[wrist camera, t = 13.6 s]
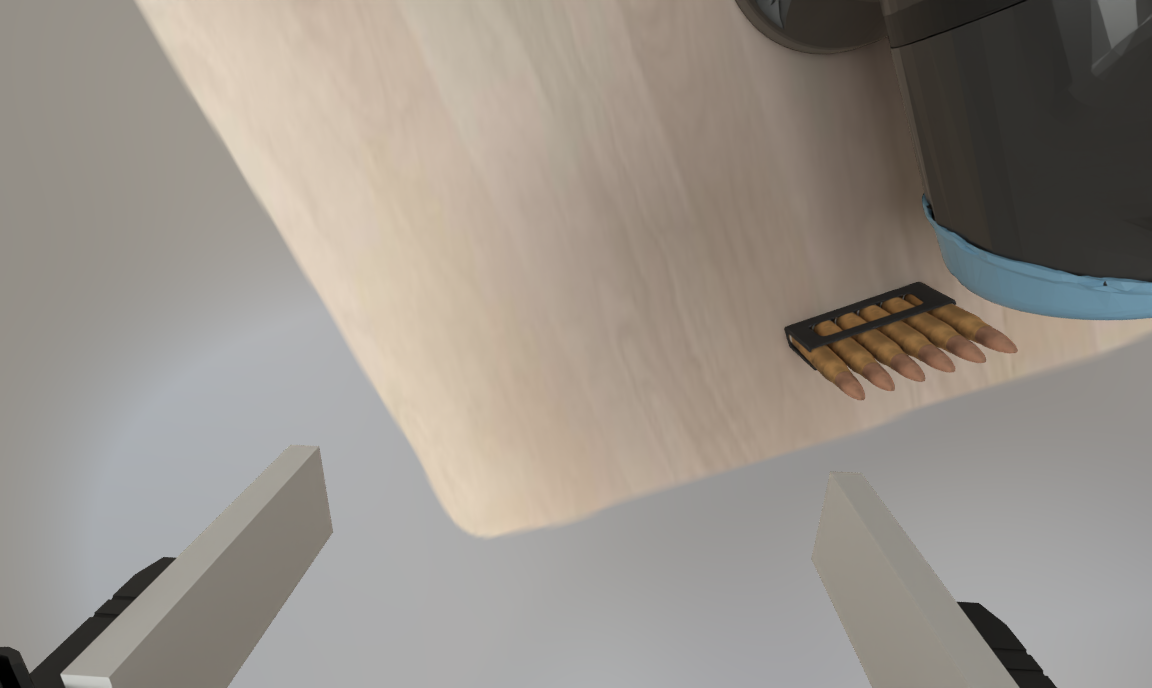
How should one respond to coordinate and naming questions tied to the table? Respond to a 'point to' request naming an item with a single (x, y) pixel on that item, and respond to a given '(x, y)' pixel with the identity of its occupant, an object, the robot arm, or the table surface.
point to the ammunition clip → (892, 338)
